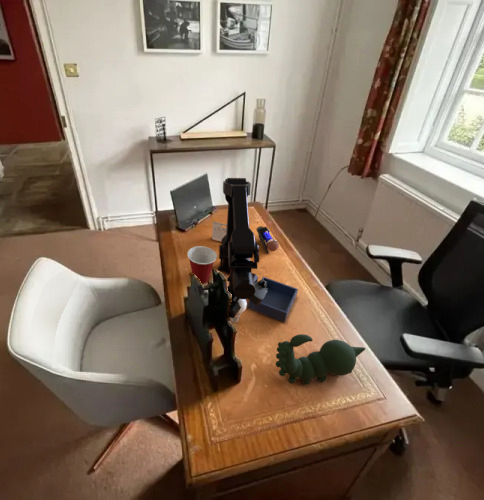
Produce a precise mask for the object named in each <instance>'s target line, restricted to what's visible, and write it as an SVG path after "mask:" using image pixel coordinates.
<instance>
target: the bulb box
mask: <svg viewBox="0 0 484 500" xmlns="http://www.w3.org/2000/svg"><path fill="white" fill-rule="evenodd" d="M260 280H265V281H266V282H267V286H266V288H267V293H266V295H265V297H264V299H263V300H262V301H261V302H260V304H259V305H255V304H254V303H253V302H251V301H250V300H248V304H247V308H248V309H249V310H252V311H255V312H258V313H260V314H262V315H265V316H267V317H270V318H272V319H275V320H278V321H280V322H283V323H285V322H286V320H287V318H288V316H289V314H290V312H291V309H292V307H293V305H294V303H295V301H296V298H297V295H298V290H299V289H298V288H296V287H293V286H292V285H288V284H285V283H283V282H280V281H277V280H274V279H271V278H269V277H266V276H262V278H261V279H260Z"/></svg>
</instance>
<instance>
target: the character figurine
mask: <svg viewBox="0 0 484 500" xmlns="http://www.w3.org/2000/svg"><path fill="white" fill-rule="evenodd" d="M256 232H257V234H258V238H259V242H260V243H261V245H262V247H263V249H264V251H265V252H266V254H269V251H270V252H276V251H277V250H278V249H279V242H278V240H276V239H274V238H273V237H272V236H271V235H272V234H271V233H270V232H271V231H270V229H269V228H268V227H267V226H258V227H256Z"/></svg>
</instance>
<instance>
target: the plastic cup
mask: <svg viewBox="0 0 484 500" xmlns="http://www.w3.org/2000/svg"><path fill="white" fill-rule="evenodd" d="M186 255H187V258H188V261H189V265H190V270H191V274H192V273H194V274H195V275H196V276H197V277H198V278H199V279H200V281H201V283H202V285H204V284H206V283H208V282H209V280H210V277H211V274H212V270H213V266H214V263H215V261H217V258H218V254H217V252H216V251H215V250H214V249H213V248H211V247H208V246H203V245H202V246H201V245H197V246H193V247H191V248H189V249H188V251H187V254H186Z"/></svg>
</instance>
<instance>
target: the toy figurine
mask: <svg viewBox="0 0 484 500" xmlns="http://www.w3.org/2000/svg"><path fill="white" fill-rule="evenodd" d="M313 341H314V340H313V338H312V337H311V335H308V334H304V333H303V334H296V335H293V336H292V337H291V338H290V340H289V341H288V340H283V341H279V342H277V347H276V352H277V353H276V354H275V358H276V359H277V361H276V362H275V367H277V368H279V369H280V370H278V375H279V376H280V377H285V376H286V374H287V375H288V378H287V381H288V382H289V383H290V384H292V385H293V384H295V383H296V382H297V379H299V380H302V384H304V385H305V386H308V385H310V383H311V380H313V379H314V378H316V379H317V381H318V382H320V383H326V382H327V379H328V378H327V376H328V375H329V374H330V375H332V376H337V377H342V376H347V375H348V374H351V373H353V370H354V369H355V367H356V364H357V357H358V356H360V355H361V354H362V353H363V352H364V351H365V350H366V347H364V346H351V345H350V344H349V343H347V342H346V341H344V340H341V339H331V340H327V341H326V342H324V343H323V344H322V345H321V347H320V349H319V350H316V351H315V350H314V351H312V352H309V354H308V355H307V356H300V357H298V358H296V357H295V351H294V350H295V348H297V347H300V346H302V345H304V344H307V343H309V342H313Z"/></svg>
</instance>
